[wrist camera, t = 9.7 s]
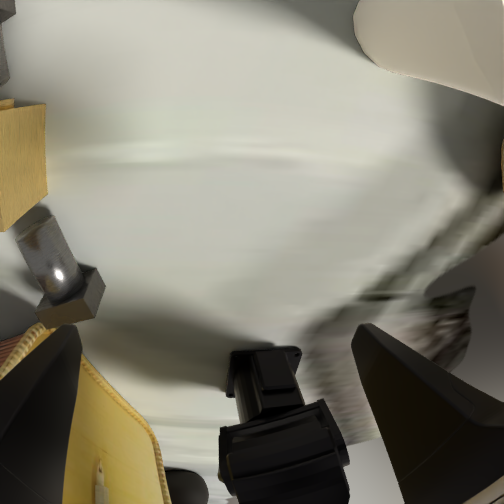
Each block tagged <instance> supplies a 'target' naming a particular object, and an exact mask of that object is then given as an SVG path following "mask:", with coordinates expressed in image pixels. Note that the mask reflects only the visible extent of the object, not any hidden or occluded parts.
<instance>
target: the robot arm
mask: <svg viewBox="0 0 504 504" xmlns="http://www.w3.org/2000/svg"><path fill="white" fill-rule="evenodd" d="M351 348H352V352H353V355H354V359H355V362H356V366H357V369H358V373H359V377H360V380H361V383H362V386H363V389H364V392H365V394H366V397H367V399H368V402H369V404H370V407H371V409H372V412H373V415H374V417H375V420H376V423H377V425H378V428H379V431H380V433H381V436H382V439H383V441H384V444H385V447H386V450H387V452H388V455H389V458H390V461H391V464H392V466H393V469H394V472H395V475H396V478H397V481H398V482H399V483H398V484H399V487H400V490H401V493H402V496H403V499H404V502H405V504H504V402H501V401H499V400H497V399H495V398H493V397H492V396H489V395H488V394H486V393H484V392H482V391H480V390H478V389H476V388H474V387H473V386H471V385H469V384H467V383H466V382H464V381H462V380H461V379H459V378H457V377H455V376H454V375H452V374H451V373H448V371H446V370H445V369H443V368H441V367H440V366H438V365H437V364H435V363H434V362H432V361H430V360H429V359H427V358H426V357H424V356H422V355H421V354H419V353H418V352H416V351H415V350H413V349H411V348H410V347H408V346H407V345H405V344H403V343H402V342H400V341H399V340H397V339H395V338H394V337H392V336H391V335H389V334H388V333H386V332H384V331H383V330H381V329H380V328H378V327H376V326H375V325H373V324H371V323H362V324H360V325H359V326H358V327H357V330H356V332H355V334H354V337H353V339H352V342H351ZM296 353H297V354H296ZM81 356H82V344H81V340H80V337H79V333H78V330H77V327H76V325H74V324H62V325H61V326H60V327H58V328H57V329H56V330H55V331H54V332H53V333H52V334H50V335H49V336H48V337H47V338H46V339H45V340H44V341H42V342H41V343H40V344H39V345H38V346H37V347H36V348H34V349H33V350H32V351H31V352H30V353H29V354H28V355H27V356H26V357H24V358H23V359H22V360H21V361H20V362H19V363H18V364H17V365H16V366H15V367H14V368H13V369H11V370H10V371H9V372H8V373H7V374H6V375H5V376H4V377H3V378H2V379H1V380H0V504H62V501H63V487H64V477H65V467H66V459H67V451H68V444H69V437H70V431H71V425H72V419H73V414H74V409H75V403H76V398H77V392H78V382H79V373H80V364H81ZM236 356H237V357H236ZM301 356H302V352H301V349H299V348H292V349H276V350H255V351H234V352H232V353H231V354H230V358H229V367H228V375H227V383H226V397H228V398H236V404H237V409H238V414H239V420H240V424H237V425H233V426H229V427H227V426H224V427H220V435H219V470H218V479H219V480H220V481H221V482H223V483H225V485H226V488H227V490H228V491H229V493H230V494H231V495H232V496H237V499H238V502H239V504H348V502H349V498H350V494H349V490H350V489H349V485H348V482H347V479H346V475H345V472H344V469H343V467H344V466H347V465H349V464H350V460H349V455H348V452H347V448H346V445H345V442H344V439H343V437H342V434H341V432H340V430H339V428H338V426H337V424H336V422H335V420H334V418H333V416H332V414H331V412H330V410H329V408H328V406H327V405H326V403H325V401H324V399H320V400H317V402H314V403H311V404H308V405H305V402H304V399H303V396H302V394H301V391H300V388H299V386H298V383H297V380H296V377H295V374H296V371H297V368H298V365H299V362H300V359H301Z"/></svg>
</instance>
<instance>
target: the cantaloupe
mask: <svg viewBox="0 0 504 504" xmlns="http://www.w3.org/2000/svg"><path fill="white" fill-rule="evenodd" d="M501 168H502V183H503V192H504V139H503V143H502V150H501Z"/></svg>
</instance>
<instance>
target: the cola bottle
mask: <svg viewBox="0 0 504 504" xmlns="http://www.w3.org/2000/svg"><path fill="white" fill-rule="evenodd" d="M165 476H166V481H167V486H168V490H169V495H170V499H171V504H207V502H208V498H209V492H208V488H207V485H206V483H205V481H204V479H203V478H202V477H201V476H200V475H198V474H196V473H193V472H188V471H169V472H165Z"/></svg>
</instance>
